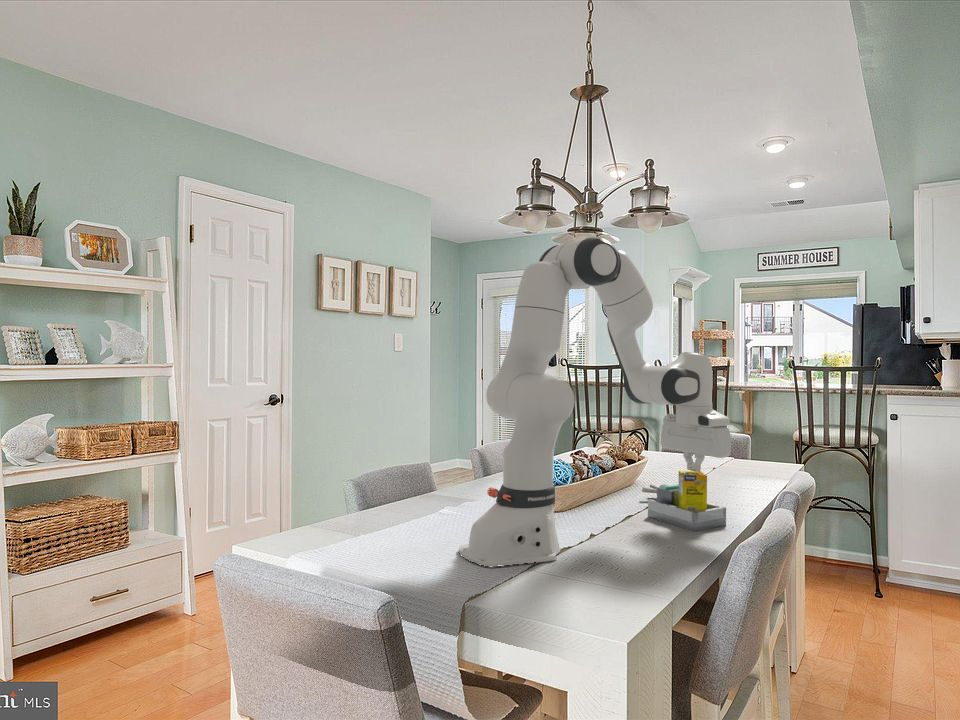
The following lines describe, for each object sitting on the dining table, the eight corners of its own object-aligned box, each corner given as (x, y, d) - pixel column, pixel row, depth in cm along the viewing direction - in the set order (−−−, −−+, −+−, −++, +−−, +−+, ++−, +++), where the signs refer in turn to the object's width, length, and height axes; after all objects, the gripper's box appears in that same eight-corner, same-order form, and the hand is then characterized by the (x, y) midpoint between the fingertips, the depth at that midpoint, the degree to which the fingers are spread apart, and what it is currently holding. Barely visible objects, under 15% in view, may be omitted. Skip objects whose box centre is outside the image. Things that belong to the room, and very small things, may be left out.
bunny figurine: (691, 494, 182) (640, 481, 191) (688, 512, 183) (638, 498, 192) (702, 488, 190) (653, 476, 199) (700, 506, 190) (651, 493, 199)
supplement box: (707, 518, 163) (707, 475, 163) (682, 518, 164) (683, 474, 164) (701, 512, 169) (701, 470, 169) (677, 512, 170) (678, 470, 170)
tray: (695, 531, 159) (695, 497, 159) (647, 516, 173) (648, 485, 173) (725, 525, 165) (726, 492, 165) (677, 511, 179) (678, 481, 179)
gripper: (655, 413, 174) (654, 465, 174) (717, 420, 156) (717, 478, 156) (672, 412, 177) (672, 463, 177) (735, 419, 159) (735, 476, 159)
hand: (693, 470), depth 167 cm, fingers closed
